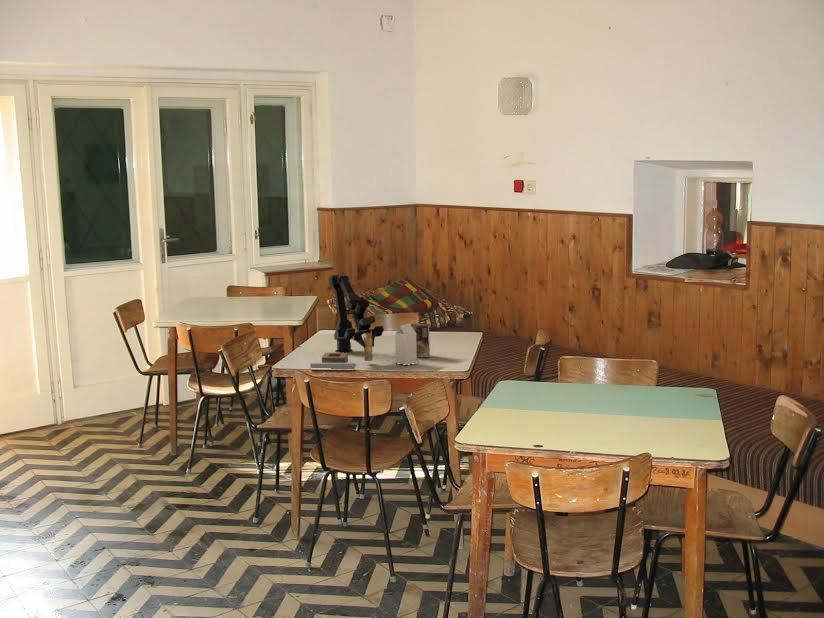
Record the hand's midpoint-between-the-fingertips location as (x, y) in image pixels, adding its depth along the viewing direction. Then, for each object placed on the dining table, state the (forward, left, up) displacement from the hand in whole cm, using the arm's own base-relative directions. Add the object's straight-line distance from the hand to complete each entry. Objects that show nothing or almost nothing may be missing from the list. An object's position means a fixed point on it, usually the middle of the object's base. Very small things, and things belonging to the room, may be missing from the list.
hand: (369, 347), depth 453 cm
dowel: (-1, +1, -7) cm, 7 cm away
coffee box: (+9, +28, -9) cm, 31 cm away
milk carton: (+13, +12, -9) cm, 20 cm away
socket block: (-13, -10, -9) cm, 19 cm away
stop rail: (-7, -18, -9) cm, 22 cm away
